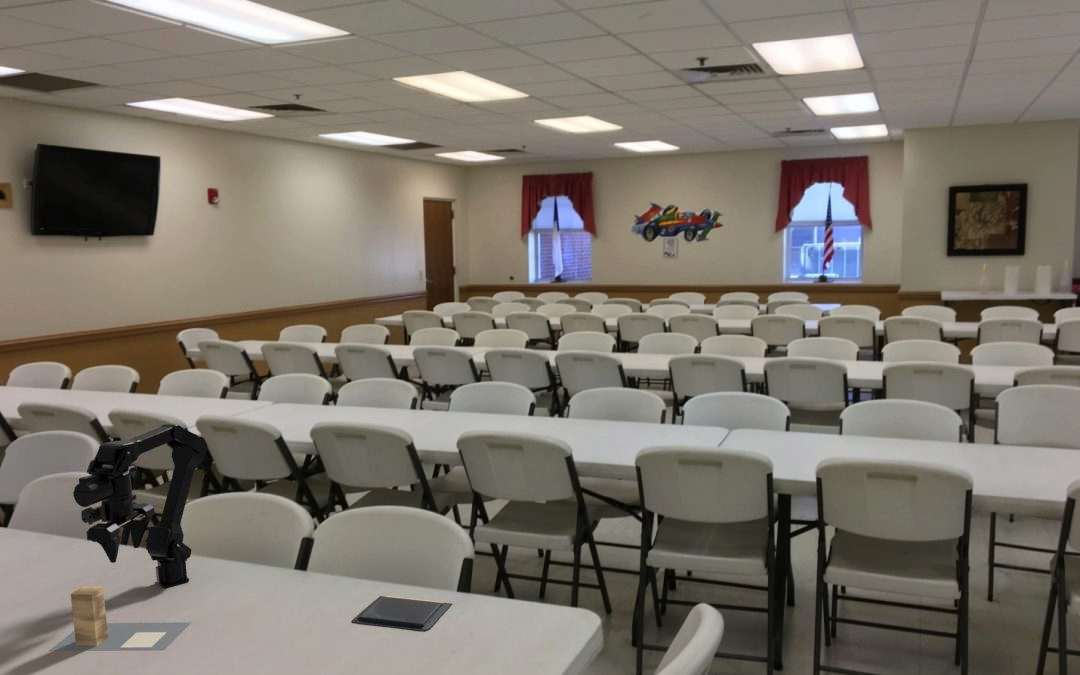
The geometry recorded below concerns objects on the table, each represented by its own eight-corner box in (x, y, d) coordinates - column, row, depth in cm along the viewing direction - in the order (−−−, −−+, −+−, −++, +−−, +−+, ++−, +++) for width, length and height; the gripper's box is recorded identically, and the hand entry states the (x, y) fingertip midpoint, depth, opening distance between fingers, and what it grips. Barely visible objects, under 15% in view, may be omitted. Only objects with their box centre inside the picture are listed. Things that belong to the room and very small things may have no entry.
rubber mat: (49, 652, 184) (48, 650, 183) (83, 625, 196) (83, 622, 196) (164, 652, 182) (164, 649, 182) (191, 624, 195) (191, 621, 195)
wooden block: (87, 636, 189) (82, 586, 188) (108, 637, 189) (103, 586, 187) (75, 645, 186) (70, 593, 184) (96, 646, 185) (91, 594, 183)
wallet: (348, 617, 194) (380, 590, 208) (348, 625, 194) (381, 597, 208) (426, 627, 187) (454, 599, 202) (426, 635, 187) (454, 606, 202)
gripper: (112, 481, 213) (118, 540, 215) (62, 506, 195) (69, 569, 197) (152, 482, 212) (158, 541, 214) (106, 506, 193) (112, 570, 196)
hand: (125, 555), depth 205 cm, fingers open, 9 cm apart
